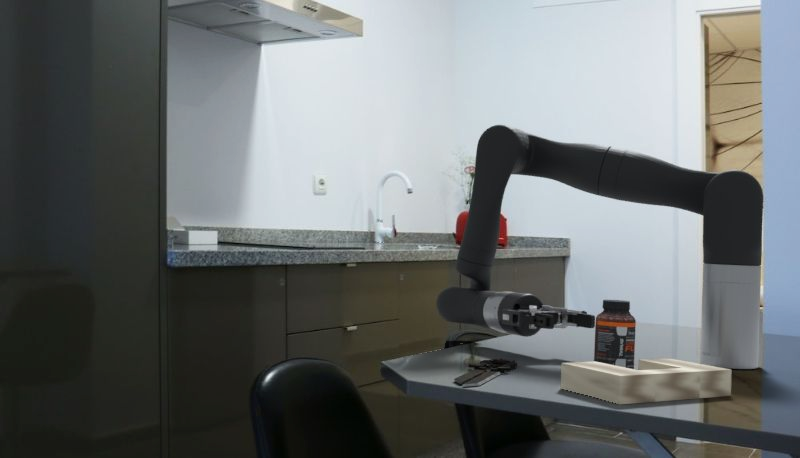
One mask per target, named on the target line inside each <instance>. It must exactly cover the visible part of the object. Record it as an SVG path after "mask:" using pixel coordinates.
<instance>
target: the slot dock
mask: <svg viewBox="0 0 800 458" xmlns="http://www.w3.org/2000/svg"><path fill="white" fill-rule="evenodd" d="M637 361H638V363H637V364H638V365H637V369H635V368H634V369H630V368H625V367H620V366H615V365H611V364H606V363H601V362H596V361H594V360H593V361H574V362H573V361H572V362H561V366H560V368H561V369H560V370H561V374H560V390H562V389H564V390H563V391H566V390H568V391H567V392H570V391H572V392H571V393H574V392H576V393H575V394H577V393H580V394H579V395H581V394H584V395H583V396H585V395H588V396H587V397H589V396H592V397H591V398H593V397H596V398H599V399H598V400H600V399H602V400H601V401H604V400H606V401H605V402H608V401H609V402H608V403H612V402H613V404H615V403H616V405H629V404H641V403H642V404H643V403H657V402H658V403H659V402H669V401H670V402H671V401H680V400H681V401H682V400H683V401H684V400H695V399H705V398H706V399H709V398H721V397H722V398H723V397H731V396H732V373H733V372H732V368H722V367H714V366H709V365H704V364H701V363H699V362H698V363H697V362H692V361H686V360H680V359H675V358H670V357H669V358H663V357H662V358H646V359H644V358H642V359H641V358H640V359H637ZM596 398H595V399H596Z"/></svg>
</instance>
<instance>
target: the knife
mask: <svg viewBox="0 0 800 458" xmlns="http://www.w3.org/2000/svg"><path fill="white" fill-rule="evenodd" d="M487 365H488V366H490V367H491V368H490V369H489V370H488V371H487V369H488V367H487ZM468 367H469V369H468V372H465V373H464V374H462V375H459V376H457V377H455V378H453V380H454V381H455V382H456V383H458V384H460V385H462V386H461V388H464V387H465V388H466V387H477V386H481V385H483V384H485V383H487V382H488V381H491V380H492V379H494V378H496V377H497V376H499V375H503V373H506V375H509V374H508V372H512V371H514V370H516V367H518V362H516V360H509V359H503V358H491V359H483V360H481V361H479V364H476V363H475V364H474V363H468ZM470 368H473V369H470ZM513 369H514V370H513ZM511 370H512V371H511ZM507 371H508V372H507Z"/></svg>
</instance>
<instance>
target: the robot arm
mask: <svg viewBox="0 0 800 458" xmlns="http://www.w3.org/2000/svg"><path fill="white" fill-rule="evenodd" d="M475 153H476V154H475V163H474V164H475V165H474V172H473V173H474V176H473V183H472V190H471V196H470V197H471V198H470V203H469V208H468V213H467V218H466V222H465V226H464V231H463V234H462V237H461V243H460V246H459V249H458V253H457V257H456V261H455V270H456V272H457V273H458V274H459V275H461V276H463V277H465V278H467V279H469V288H468V287H461V286H454V285H453V286H452V285H451V286H447V287H445V288H443V289H442V290H441V291H440V292H439V293H438V295H437V296H436V297H437V298H436V301H435V306H436V307H435V308H436V311H437V314H438V315H439V316H440V318H441V319H443V320H444V321H446V322H448V323H456V324H462V325H463V324H465V325H474V326H478V327H481V328H485V329H488V330H489V329H490V330H495V331H497V332H500V333H503V334H509V335H514V336H518V337H519V336H520V337H525V338H527V337H532V336H534V335H536V334H537V333H538V332H540V330H541V329H547V330H553V329H567V328H568V327H575V328H585V329H595V325H596V316H595V315H594V314H589V313H588V311H586V310H576V309H575V310H574V309H568V308H567V307H553V306H551V305H546V304H545V305H544V304H543V302H542V300H541V299H540V298H539V297H538V296H537V295H534V294H532V293H525V292H515V291H508V290H507V291H496V290H491V285H492V284H491V279H492V278H491V277H492V276H491V275H492V274H491V273H492V268H493V266H494V261H495V257H496V254H497V250H498V245H499V239H500V232H501V217H502V216H501V213H502V204H503V199H504V194H505V191H506V188H507V186H508V183H509V180H510V178H511V175H519V176H520V175H521V176H529V177H535V178H536V177H537V178H544V179H548V180H549V179H550V180H553V181H556V182H559V183H562V184H564V185H566V186H569V187H572V188H574V189H575V190H576V189H577V190H579V191H582V192H585V193H588V194H592V195H595V196H600V197H604V198H607V199H612V200H617V201H622V202H623V201H624V202H629V203H635V204H641V205H642V204H643V205H649V206H650V205H651V206H662V207H669V208H670V207H671V208H675V209H678V210H679V209H680V210H683V211H688V212H691V213H695V214H697V215H700V216H703V220H702V252H703V254H702V255H703V256H702V257H703V258H702V292H701V293H702V296H701V320H700V324H701V325H700V345H699V346H700V347H699V349H700V350H699V364H703V365H709V366H714V367H720V368H725V369H733V370H734V369H735V370H736V369H737V370H752V369H753V370H755V369H758V368H761V367H762V361H763V359H762V358H763V355H762V354H763V330H764V329H763V327H764V326H763V325H764V311H762V310H761V287H762V286H761V285H762V283H761V278H762V277H761V276H762V258H763V257H762V255H763V253H762V251H763V220H764V219H763V215H764V214H763V213H764V192H763V188H762V185H761V184H760V181H758V179H757V178H756V177H755V176H754V175H753V174H751V173H749V172H748V171H747V172H746V171H745V170H740V169H727V170H723V171H721V172H715V171H713V172H712V171H705V170H698V169H692V168H686V167H684V166H683V167H682V166H679V165H676V164H673V163H671V162H668V161H665V160H662V159H659V158H657V157H654V156H651V155H648V154H645V153H642V152H638V151H634V150H630V149H626V148H625V149H624V148H620V147H614V146H609V145H605V144H603V145H602V144H595V143H580V142H578V143H577V142H562V141H557V140H554V139H549V138H546V137H542V136H539V135H536V134H533V133H529V132H527V131H524V130H522V129H520V128H518V127H514V126H511V125H506V124H494V125H493V126H490V127H489V128H486V129H485V130H484V131H483V132H482V133H481V135H480V137H479V139H478V142H477V145H476V152H475ZM558 312H560V313H558ZM559 320H560V321H559ZM558 323H560V324H558Z"/></svg>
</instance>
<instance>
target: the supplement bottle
mask: <svg viewBox="0 0 800 458" xmlns="http://www.w3.org/2000/svg"><path fill="white" fill-rule="evenodd" d="M602 309H603V311H601V313H598V314H597V315H596V316H595V327H594V329H595V331H594V333H595V334H594V350H593V352H594V353H593V354H594V355H593V356H594V357H593V362H594V361H596V362H601V363H606V364H611V365H615V366H620V367H625V368H630V369H635V354H636V353H635V350H636V349H635V348H636V347H635V345H636V325H637V323H636V322H637V321H636V318H635V317H634V315H632V314H631V312H630V309H631V302H630V300H622V299H621V300H620V299H603V301H602Z"/></svg>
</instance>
